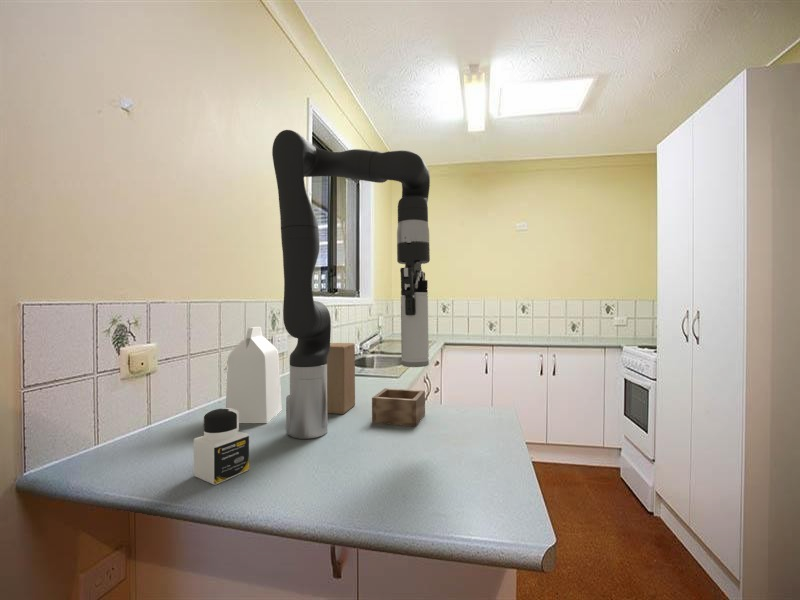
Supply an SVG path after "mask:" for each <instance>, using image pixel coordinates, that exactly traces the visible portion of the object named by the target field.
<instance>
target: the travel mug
mask: <svg viewBox="0 0 800 600" xmlns="http://www.w3.org/2000/svg"><path fill="white" fill-rule="evenodd" d="M415 283H416V282H413V284H415ZM428 288H429V287H428V279H427V280H426V279H425V280H423V281H418V289H416V297H415V298H414V299H416V314H415V315H406V314H405V299H406V298H404V295H402V294H401V293H400V325H401V326H400V337H401V338H400V340H401V342H400V344H401V346H400V347H401V349H400V351H401V366H403V367H407V368H423V367H425V368H426V367H428V366H429V365H430V364H429V363H430V362H429V361H430V360H429V357H430V356H429V355H430V354H429V353H430V352H429V350H430V349H429V292H428ZM408 290H410V289H408Z"/></svg>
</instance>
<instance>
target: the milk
mask: <svg viewBox="0 0 800 600" xmlns="http://www.w3.org/2000/svg"><path fill="white" fill-rule="evenodd" d="M246 331H247V332H246V336H245V338H243V339H242V340H241V341H239V343H238V345H237V346H236V347H235V348H233V350H232V351H231V352H230V353H229V354H228V358H227V369H226V371H227V372H226V393H225V394H226V395H225V408H232V409H235V410H237V411H238V412H239V423H267V424H268V423H270V420H271V419H272V418H273V417H274V416H275V417H276V416H278V415H279V414H280V413H281V412H282V411H283V410H282V408H283V407H282V391H281V389H282V388H281V374H280V373H281V372H280V358H279V350H278V349H277V348H276V347H275V345H274V344H272V343H271V342H270V341H269V340H268V338H266V337H265V336H263V332H262V331H263V330H262V326H253V327H247V330H246ZM281 410H282V411H281ZM280 411H281V412H280ZM279 412H280V413H279ZM278 413H279V414H278ZM277 414H278V415H277ZM275 417H274V418H275ZM274 418H273V419H274ZM273 419H272V420H273ZM272 420H271V421H272Z"/></svg>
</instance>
